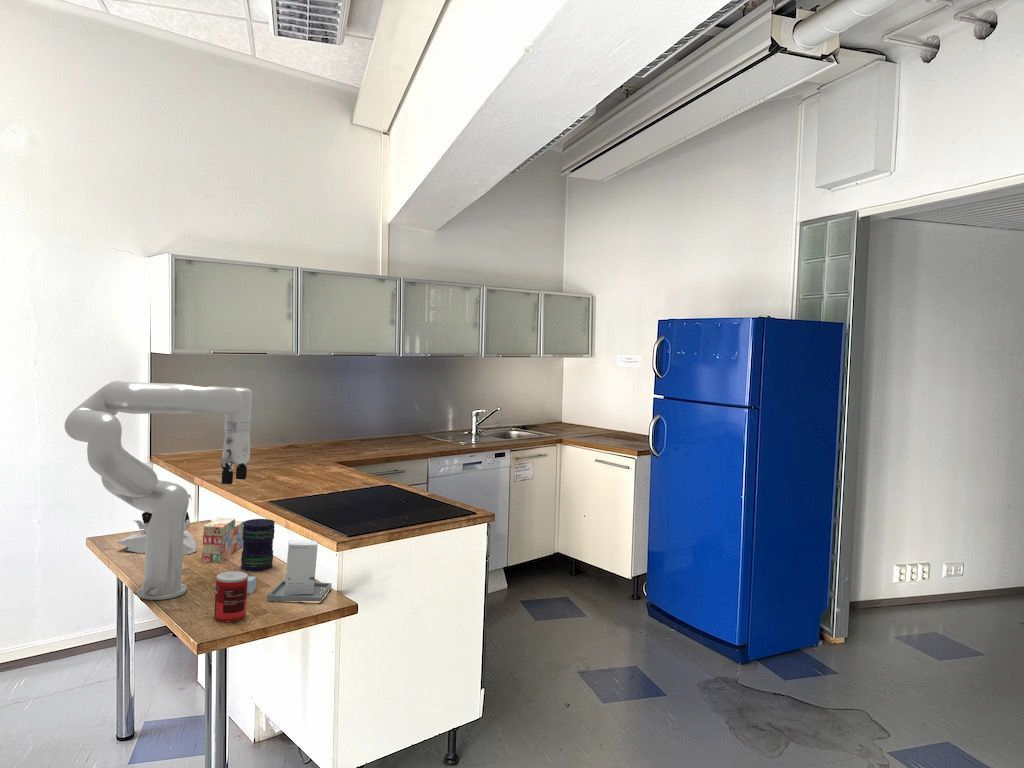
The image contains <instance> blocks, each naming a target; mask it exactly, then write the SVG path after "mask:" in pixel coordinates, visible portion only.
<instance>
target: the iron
mask: <svg viewBox="0 0 1024 768" xmlns="http://www.w3.org/2000/svg"><path fill="white" fill-rule="evenodd" d="M151 517H152V514H151V513H148V512H144V511H143V513H141V518H142V520H140V519H136V520H135V519H133V522H135V523H136V525H137V526H138V529H139V530H141V531H139V533H138V534H137V533H135V534H131V535H129V536H127V537H125V538H122V539H120V540H118V541H117V543H118V544H119V545H122V546H125V547H127V549H126V550H127V551H129V552H133V553H138V554H143V553H145V549H146V531H147V527H148V524H149V522H150V519H151ZM190 526H191V521H190V515H189V512H188V511H187V513H186V517H185V523H184V535H183V556H185V555H189V554H194V552H196V551H198V550H197V542H196V540H195V538H194V536H193V535H192V534H191V533H190V531H188V529H189V528H190Z"/></svg>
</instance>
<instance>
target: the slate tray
mask: <svg viewBox="0 0 1024 768" xmlns="http://www.w3.org/2000/svg"><path fill="white" fill-rule="evenodd" d="M285 581H286V580H281V581H280V582H278V584H277V585H276V586H275V587H273V588H272V590H271V591H270V592H269V593H268V594H266V595H267V596H266V597H267V598H266V601H267V602H269V601H321V600H322V598H323V597H324V596H325V594H326V593H327V592H328V590H329V589H331V590H332V584H333V583H331V582H318V581H317V582H315V581H314V593H313V594H303V595H285ZM321 587H322V589H321ZM324 588H325V590H323V589H324ZM321 591H322V592H321ZM320 592H321V593H320Z"/></svg>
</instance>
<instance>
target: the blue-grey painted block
mask: <svg viewBox="0 0 1024 768" xmlns="http://www.w3.org/2000/svg"><path fill="white" fill-rule="evenodd" d="M256 587H257V576H251V575H250V576H249V575H248V585H247V593H249V594H248V595H252V594H253V593H254V592H255V591H256V589H257V588H256Z"/></svg>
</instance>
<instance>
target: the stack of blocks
mask: <svg viewBox="0 0 1024 768" xmlns="http://www.w3.org/2000/svg"><path fill="white" fill-rule="evenodd" d="M243 522H244V521H243V520H236V518H235V517H234V518H232V517H217V518H215V519H213V520H212V521H210V522H209V523H207V524H205V525H203V535H202V555H201V562H202V561H207V562H206V563H218V562H221V561H222V562H223V561H225V560H227V559H228V558H229V557H231V555H232V553H233V552H234V551H235V552H237V551H238V550H240V547H241V546H242V545H243V538H242V537H243V527H244V525H243ZM242 547H243V546H242ZM242 547H241V548H242ZM235 552H234V553H235ZM234 553H233V554H234ZM228 556H229V557H228ZM227 557H228V558H227ZM224 559H225V560H224ZM209 561H210V562H209ZM222 562H221V563H222Z"/></svg>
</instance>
